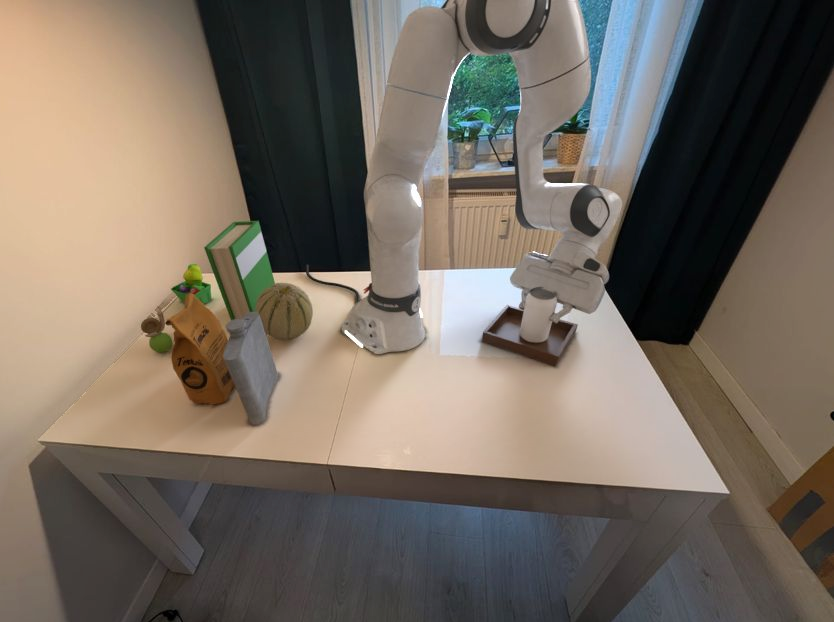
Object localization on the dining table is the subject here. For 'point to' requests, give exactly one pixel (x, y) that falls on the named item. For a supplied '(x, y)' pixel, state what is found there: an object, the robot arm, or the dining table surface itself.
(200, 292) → the fruit basket
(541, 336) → the can
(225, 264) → the hardback book
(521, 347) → the tray
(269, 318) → the cantaloupe
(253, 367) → the hip flask
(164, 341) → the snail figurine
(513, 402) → the dining table surface
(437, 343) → the dining table surface
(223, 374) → the coffee package
